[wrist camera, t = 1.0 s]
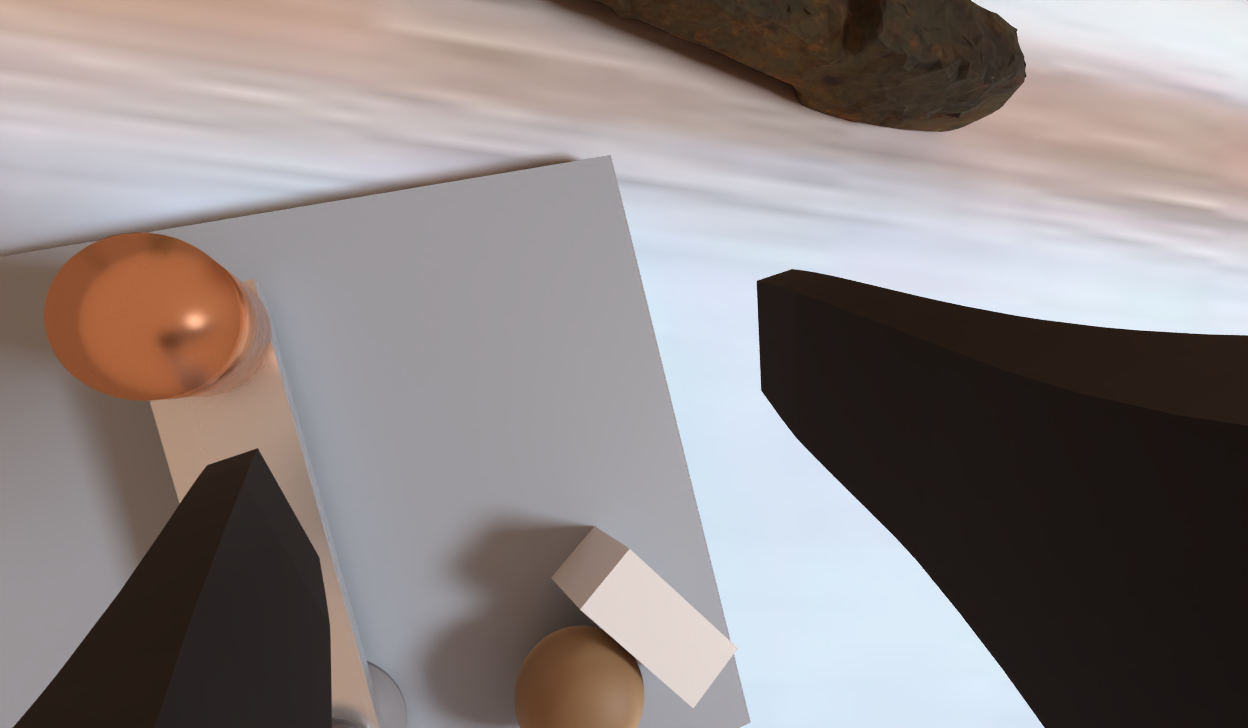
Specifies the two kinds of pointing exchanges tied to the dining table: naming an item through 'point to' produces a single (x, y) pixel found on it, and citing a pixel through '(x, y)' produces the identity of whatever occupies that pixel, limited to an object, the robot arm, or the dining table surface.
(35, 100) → the dining table surface
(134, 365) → the lever
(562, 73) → the dining table surface
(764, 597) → the dining table surface
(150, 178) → the dining table surface
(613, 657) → the brown sphere
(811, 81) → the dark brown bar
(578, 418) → the flat white platform
